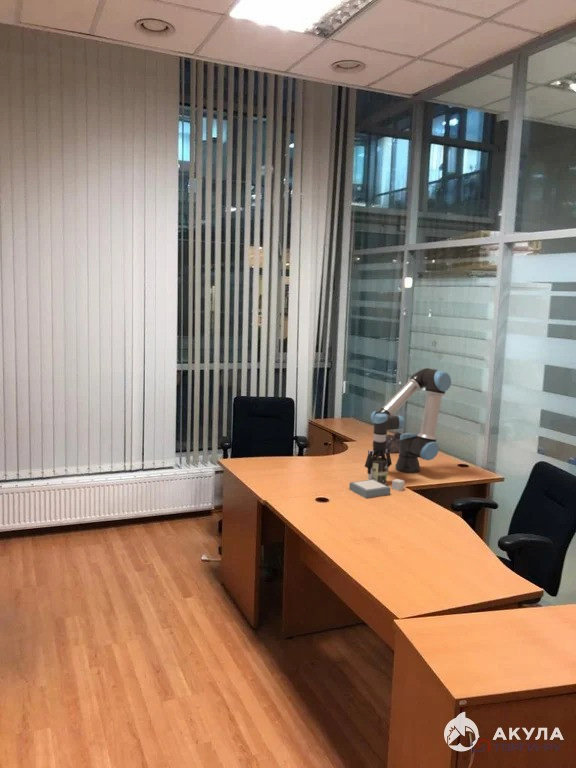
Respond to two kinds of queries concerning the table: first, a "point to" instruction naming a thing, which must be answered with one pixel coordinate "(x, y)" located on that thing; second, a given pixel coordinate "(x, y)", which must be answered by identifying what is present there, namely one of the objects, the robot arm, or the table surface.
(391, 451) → the dark grey lumpy piece
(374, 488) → the plinth
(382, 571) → the table surface
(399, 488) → the block
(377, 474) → the coffee can
